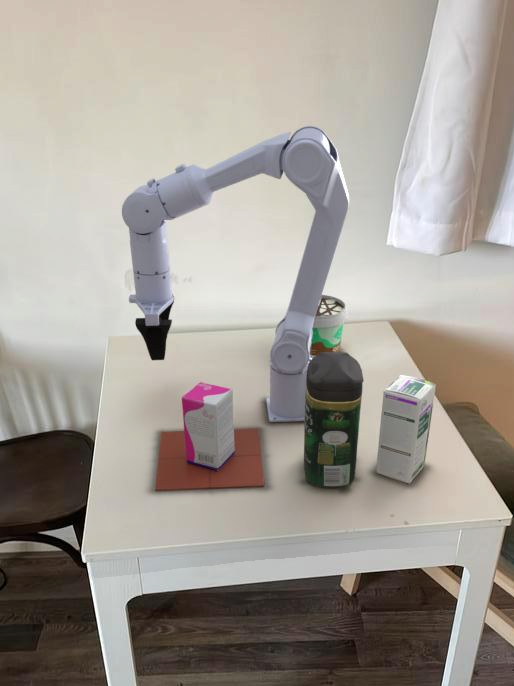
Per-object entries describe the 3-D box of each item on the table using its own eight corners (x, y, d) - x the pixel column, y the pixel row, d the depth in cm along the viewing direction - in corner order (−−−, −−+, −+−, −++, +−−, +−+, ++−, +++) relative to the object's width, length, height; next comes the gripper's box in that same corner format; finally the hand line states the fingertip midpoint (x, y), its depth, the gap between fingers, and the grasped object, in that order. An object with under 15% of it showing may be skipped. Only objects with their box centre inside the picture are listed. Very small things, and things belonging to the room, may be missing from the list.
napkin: (258, 429, 116) (258, 428, 115) (264, 486, 103) (264, 485, 102) (161, 433, 115) (161, 431, 114) (155, 491, 102) (155, 489, 101)
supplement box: (236, 452, 109) (234, 388, 103) (218, 472, 105) (215, 406, 98) (203, 444, 111) (199, 380, 105) (185, 463, 107) (179, 397, 100)
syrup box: (410, 485, 103) (423, 399, 95) (374, 472, 106) (383, 388, 97) (424, 466, 107) (438, 382, 99) (389, 455, 110) (399, 372, 101)
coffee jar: (302, 454, 110) (305, 346, 99) (352, 455, 110) (361, 346, 99) (303, 491, 102) (307, 377, 91) (357, 491, 102) (367, 378, 91)
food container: (341, 369, 134) (344, 320, 128) (309, 366, 135) (311, 317, 129) (348, 342, 144) (351, 295, 138) (318, 339, 145) (321, 293, 139)
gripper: (129, 254, 114) (138, 331, 122) (120, 286, 102) (131, 369, 110) (173, 254, 115) (179, 330, 123) (169, 285, 103) (175, 368, 111)
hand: (159, 349), depth 117 cm, fingers open, 7 cm apart
